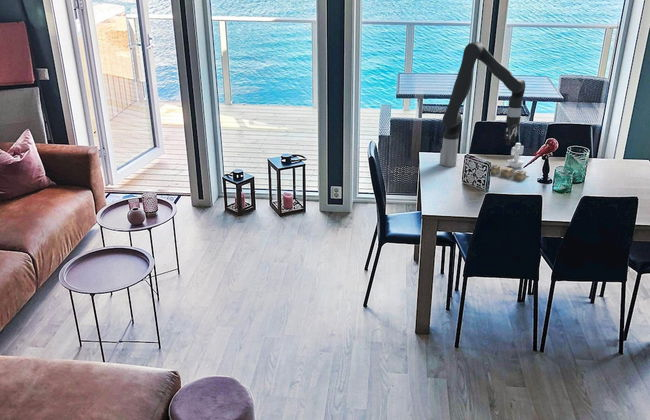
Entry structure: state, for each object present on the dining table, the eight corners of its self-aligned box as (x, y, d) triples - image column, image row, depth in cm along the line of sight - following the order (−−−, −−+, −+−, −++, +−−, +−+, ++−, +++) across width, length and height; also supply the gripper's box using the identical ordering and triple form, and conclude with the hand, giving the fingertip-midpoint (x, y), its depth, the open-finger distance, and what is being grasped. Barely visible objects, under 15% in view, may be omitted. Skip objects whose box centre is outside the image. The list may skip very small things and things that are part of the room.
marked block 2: (513, 178, 354) (514, 171, 352) (517, 176, 357) (517, 169, 355) (521, 180, 351) (522, 173, 349) (525, 178, 354) (526, 170, 352)
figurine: (515, 163, 379) (518, 140, 373) (524, 168, 371) (528, 144, 365) (505, 165, 377) (508, 141, 371) (514, 169, 369) (517, 145, 363)
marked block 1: (487, 172, 363) (488, 165, 361) (491, 170, 367) (492, 163, 365) (495, 174, 360) (496, 167, 358) (499, 172, 364) (500, 165, 362)
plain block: (500, 175, 358) (501, 168, 357) (504, 173, 362) (504, 166, 360) (508, 177, 355) (509, 170, 354) (512, 175, 359) (513, 168, 357)
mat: (483, 174, 360) (483, 174, 360) (494, 168, 370) (494, 168, 370) (519, 183, 347) (519, 182, 347) (529, 176, 357) (529, 176, 357)
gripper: (512, 111, 352) (509, 139, 358) (501, 116, 342) (498, 145, 348) (525, 113, 348) (521, 142, 354) (514, 118, 337) (510, 147, 344)
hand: (510, 143), depth 351 cm, fingers open, 6 cm apart
